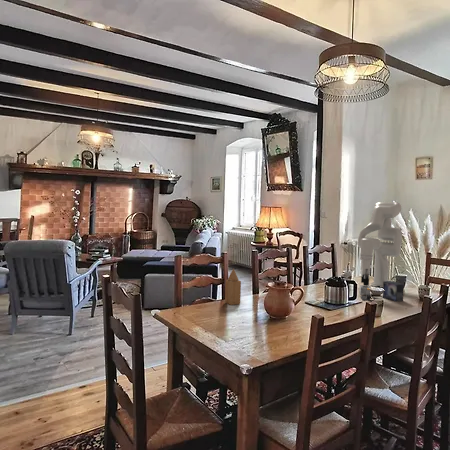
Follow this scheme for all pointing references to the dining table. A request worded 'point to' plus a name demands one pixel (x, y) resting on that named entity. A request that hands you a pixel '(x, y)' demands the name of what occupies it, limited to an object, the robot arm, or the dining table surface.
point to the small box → (393, 291)
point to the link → (363, 289)
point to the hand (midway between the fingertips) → (364, 284)
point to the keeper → (366, 296)
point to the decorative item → (232, 289)
